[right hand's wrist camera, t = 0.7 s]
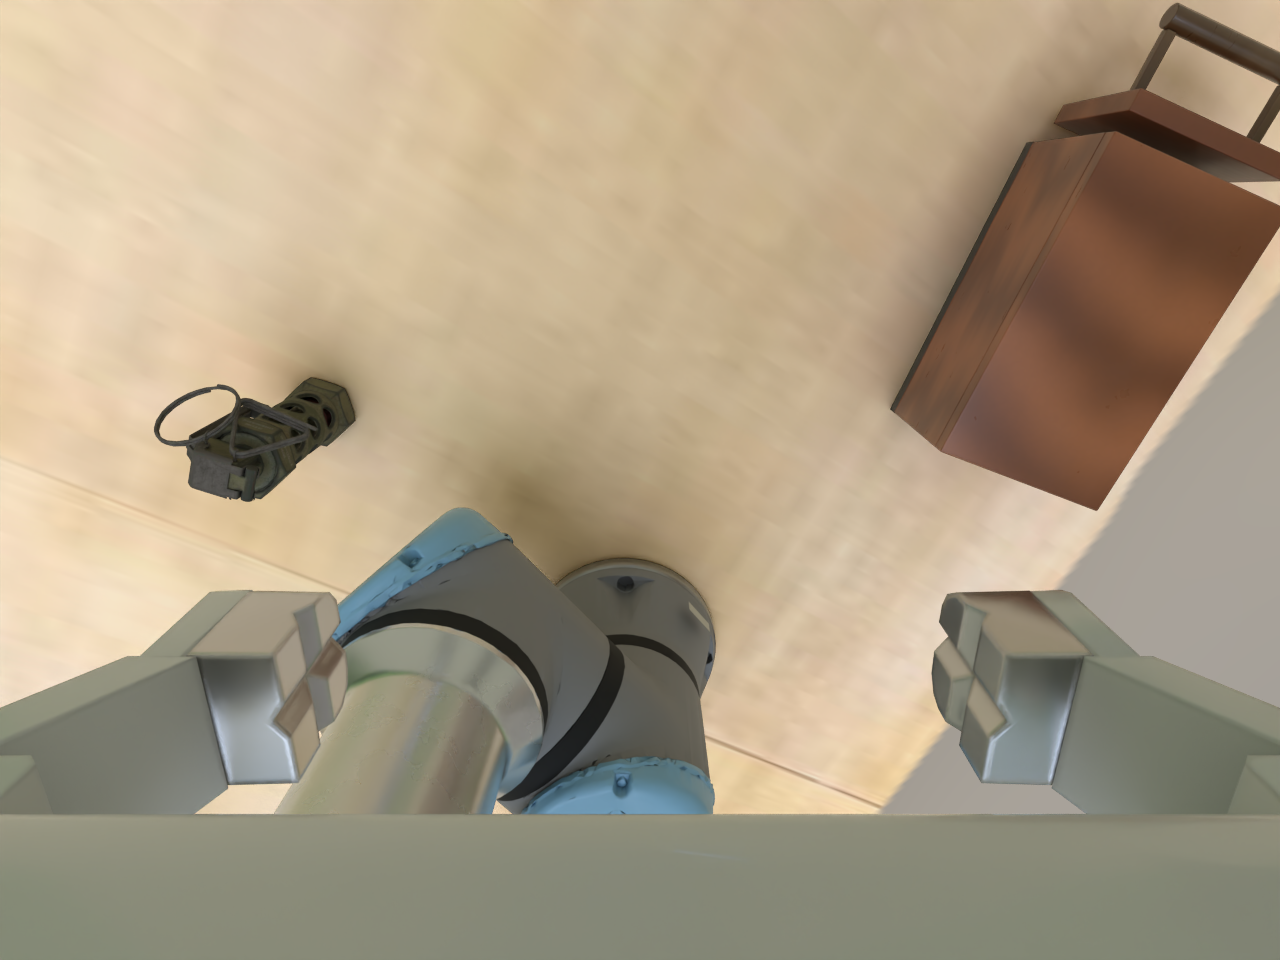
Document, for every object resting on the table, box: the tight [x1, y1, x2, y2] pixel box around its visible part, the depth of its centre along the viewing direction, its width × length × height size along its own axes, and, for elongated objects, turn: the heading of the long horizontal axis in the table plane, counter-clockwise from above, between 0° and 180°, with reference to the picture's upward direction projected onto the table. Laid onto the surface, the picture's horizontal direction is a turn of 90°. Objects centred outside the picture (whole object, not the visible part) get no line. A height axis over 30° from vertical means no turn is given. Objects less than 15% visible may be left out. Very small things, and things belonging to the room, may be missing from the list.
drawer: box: [1054, 3, 1280, 182], centre depth 48 cm, size 24×10×8 cm, turn 159°
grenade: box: [154, 378, 355, 502], centre depth 50 cm, size 9×6×15 cm, turn 71°
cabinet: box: [890, 131, 1280, 511], centre depth 50 cm, size 20×12×10 cm, turn 159°
